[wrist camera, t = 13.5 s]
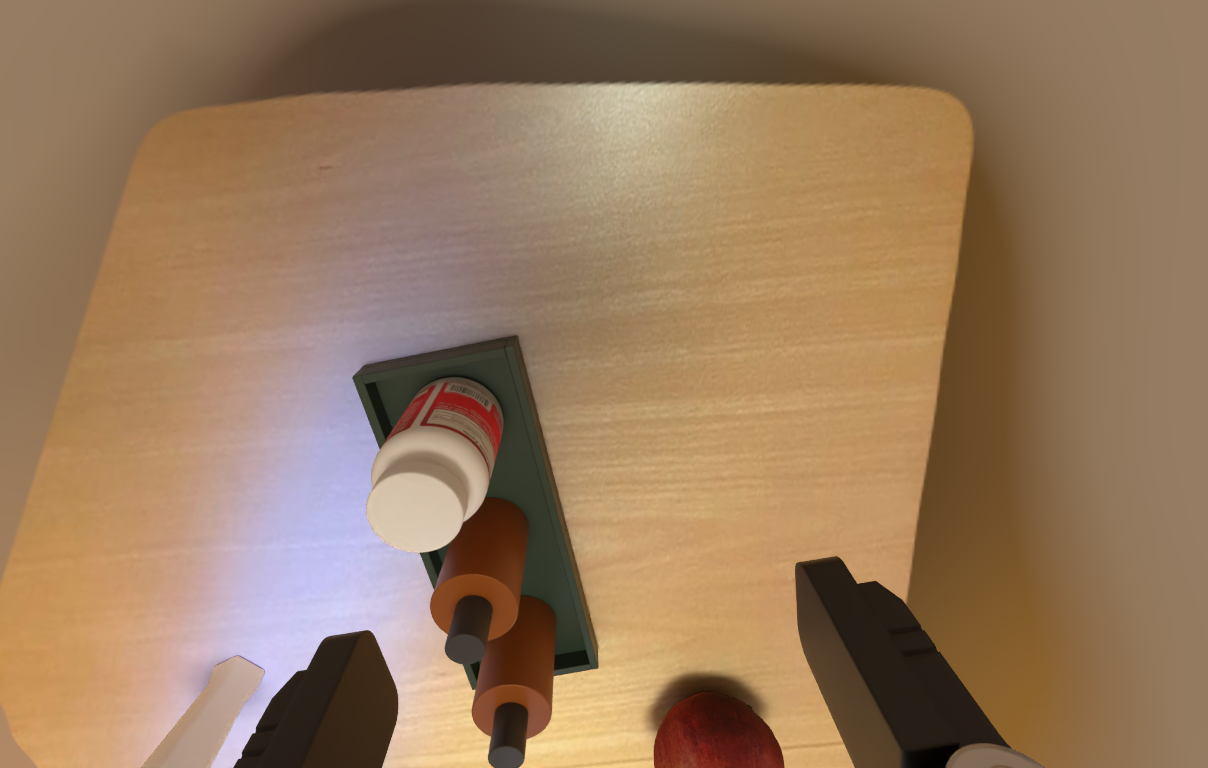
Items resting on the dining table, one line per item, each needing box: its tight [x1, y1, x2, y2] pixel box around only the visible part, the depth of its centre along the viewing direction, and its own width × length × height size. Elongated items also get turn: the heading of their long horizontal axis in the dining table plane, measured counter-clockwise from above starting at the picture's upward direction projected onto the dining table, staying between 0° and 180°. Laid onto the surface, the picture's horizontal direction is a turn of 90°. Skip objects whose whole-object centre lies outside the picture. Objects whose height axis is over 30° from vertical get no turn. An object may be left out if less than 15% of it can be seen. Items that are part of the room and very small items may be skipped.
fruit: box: [654, 692, 784, 768], centre depth 46 cm, size 11×10×10 cm
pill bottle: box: [366, 377, 504, 553], centre depth 33 cm, size 6×6×11 cm
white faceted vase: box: [141, 656, 264, 768], centre depth 40 cm, size 5×4×15 cm
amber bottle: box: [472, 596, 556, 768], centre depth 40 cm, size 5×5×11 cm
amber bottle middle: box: [430, 498, 529, 664], centre depth 36 cm, size 5×5×11 cm
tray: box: [353, 336, 598, 690], centre depth 41 cm, size 10×27×2 cm, turn 11°
